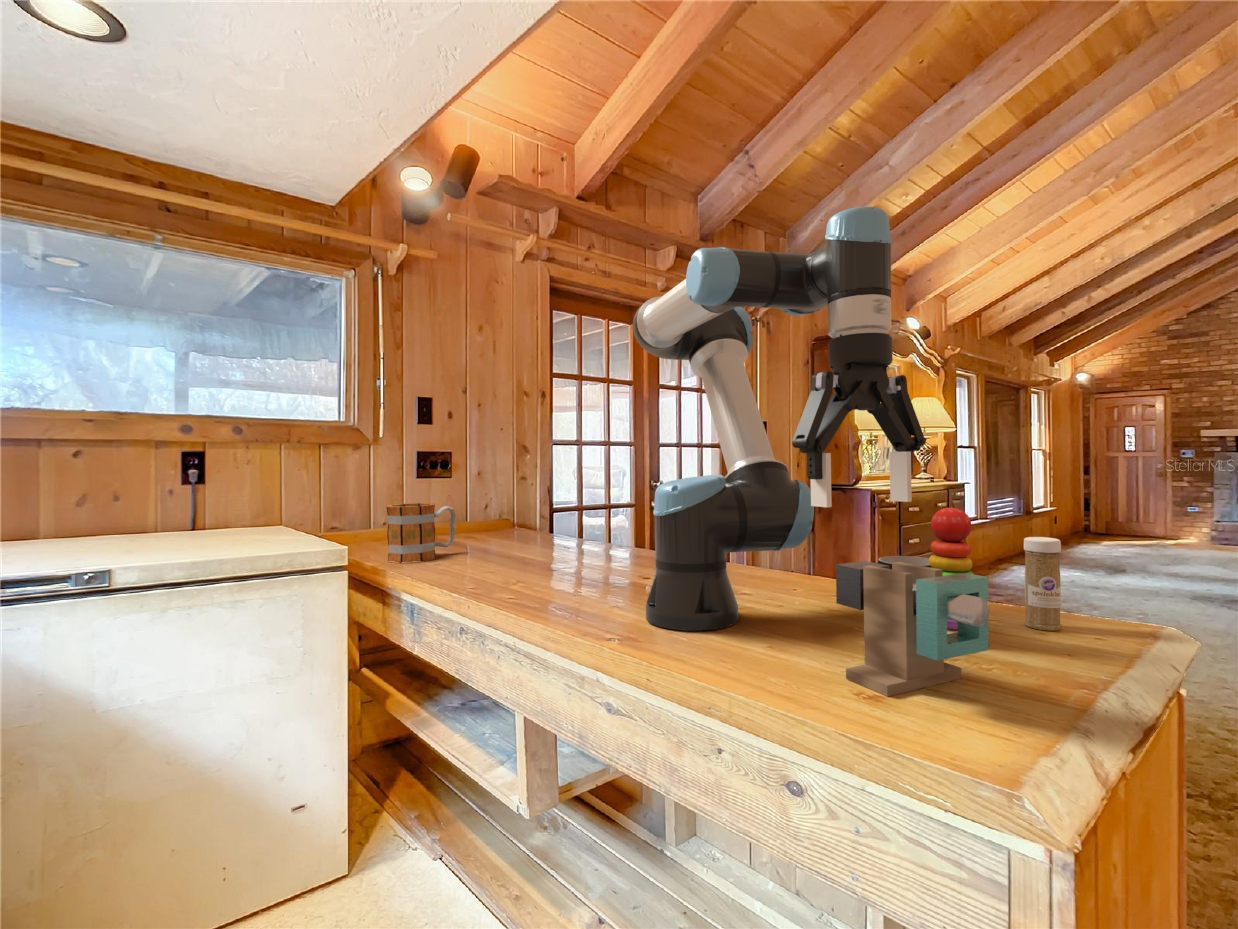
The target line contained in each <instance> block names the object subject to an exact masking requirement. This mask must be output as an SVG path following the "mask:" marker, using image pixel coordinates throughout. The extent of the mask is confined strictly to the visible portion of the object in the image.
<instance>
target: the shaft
mask: <svg viewBox="0 0 1238 929" xmlns="http://www.w3.org/2000/svg"><path fill="white" fill-rule="evenodd" d="M869 565H871V566H876V567H882V568H887V569H890V566H888V565H883V564H878V562H871V561H866V560H864V561H863V560H862V561H855V562H845V563H839V564H835V588H836V589H835V590H836V594H835V596H836V597H835V598H836V602H835V603H836V604H837V605H841V606H844V607H848V608H852V609H855V610H858V611H864V584H863V566H869ZM913 610H915V611H916V584H914V583H913ZM989 615H990V606H989V602H988V603H987V601H986V600H985V599H983V598H980V597H975V596H970V595H966V594H963V595H956V596H949V597H947V619H949V620H953V621H957V622H961V623H965V624H968V625H972V626H976V627H981V626H983V625H984V624H985V623H986V621H987V619H988V620H989Z"/></svg>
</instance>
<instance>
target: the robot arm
mask: <svg viewBox="0 0 1238 929" xmlns="http://www.w3.org/2000/svg"><path fill="white" fill-rule="evenodd" d="M890 227H891V226H890V217H889V215H888V213H887V212H886V211H885V210H884V209H882V208H879V207H876V206H856V207H852V208H848V209H844V210H841V211H840V212H837V213H835V214H834V215H832V216H831V217H830V218H829V219H828V222H827V223H826V231H825V236H824V238H825V244H824V245H822V246H821V247H819V248H818V249H816V250H814V251H813V252H811V253H797V252H796V253H794V252H779V251H764V250H754V249H753V250H752V249H751V250H750V249H740V248H729V247H723V246H717V247H701V248H698V249H697V250H695V251H694V253H692V255H691V258H690V261H689V262H688V265H687V269H686V277H685V278H684V280H682V281H681V282H679V283H678V284H677V285H676V286H674V287H673V288H671V289H670V290H668V291H667V292H666V293H665V294H663V295H662V296H655V297H652V298H650V299H648V300H646V301H645V302H644V303H643V304H642V305H641V306H639V308H638V309H637V310H636V312H635V314H634V317H633V320H632V331H633V335H634V338H635V340H636V342H637V343H638V345H640V347H641V349H643V350H644V351H645V352H647V353H649V354H650V355H653V356H654V357H656V358H660V359H665V360H674V361H675V360H676V361H677V360H679V361H688V362H689V365H690V369H691V371H692V373H693V374H694V375H696V376H697V377H698V378H701V381H702V384H703V389H704V392H705V395H706V399H707V402H708V406H709V409H710V413H711V417H712V421H713V425H714V427H715V431H716V434H717V439H718V442H719V446H720V449H721V453H722V456H723V460H724V463H725V467H726V472H727V474H726V475H725V476H724V475H722V474H708V475H701V476H691V477H690V476H689V477H685V478H679V479H674V480H669V481H666V482H662V483H661V484H659V485H658V486H657V487H656V490H655V492H654V504H653V506H654V507H653V510H652V511H653V515H654V541H655V542H654V547H655V548H654V551H655V553H654V554H655V572H654V576H653V580H652V584H651V588H650V590H649V594H648V597H647V600H646V603H645V618H646V621H647V622H648V623H650V624H651V625H654V626H656V627H661V628H664V629H668V630H669V629H670V630H677V631H694V632H695V631H698V632H699V631H711V630H712V631H713V630H718V629H724V628H727V627H731V626H733V625H735V624H736V623H737V622H739V605H738V602H737V599H736V596H735V593H734V590H733V587H732V584H731V581H730V578H729V575H728V570H727V554H728V553H744V552H745V553H746V552H747V553H748V552H763V551H774V552H778V551H781V550H787V549H793V548H794V549H795V548H797V547H799V546H801V545H802V544H803V543H804V542H805V541H806V539H807V538H808V536H809V534H810V532H811V529H812V525H813V522H814V516H815V507H817V508H818V507H820V508H832V507H833V505H832V503H833V502H832V500H833V499H832V457H831V456H832V452H827V453H826V452H825V451H826V449H827V448H828V446H829V444H830V443H831V441H832V440H833V438H834V436H835V434H836V433H837V431H838V430H839V428H840V427H841V425H842V423H843V422H844V420H845V419H846V417H847V416H848V414H849V413H850V412H851V411H854V410H855V411H856V410H858V411H867V413H869V414H871V415H872V416H873V418H874V419H875V420H876V422H877V424H878V425H879V427H880V428H881V430H882V432H883V433H884V435H885V436H886V439H888V442H890V444H891V446H892V447H893V449H894V450H895V451H889V491H890V493H889V494H890V497H889V498H890V499H889V500H890V502H902V503H903V502H904V503H905V502H906V503H908V502H909V503H911V502H912V500H913V498H912V492H913V490H912V476H913V473H914V452H918V451H921V448H922V446H923V447H924V446H925V445H926V439H925V438H926V437H925V435H924V433H923V430H922V427H921V424H920V421H919V419H918V416H917V413H916V410H915V408H914V406H913V403H912V400H911V398H910V394H909V391H908V381H907V377H906V375H904V374H900V375H895V376H894V375H893V376H889V375H888V372H887V369H888V367H889V366H890V365H892V363H893V358H894V357H893V337H892V336H891V335H890V334H889V332H890V331H891V330H892V299H891V298H892V244H893V240H892V238H891V229H890ZM826 307H827V331H828V332H827V335H828V336H829V337H830V338H831V339H830V340H829V341H828V345H827V346H828V350H827V351H828V367H829V368H830V369H831V370H833V372H832V371H831V370H827V371H823V372H817V373H814V374H812V376H811V388H810V393H809V395H808V398H807V401H806V404H805V406H804V409H803V411H802V415H801V417H800V419H799V422H798V425H797V428H796V430H795V433H794V435H793V438H792V441H791V445H792V447H793V448H795V449H799V452H800V453H802V454H806V477H807V480H810V486H808V484H807V483H805V482H804V481H802V480H799V479H793V480H792V478H791V475H790V473H789V469H788V466H787V465H786V464H785V463H784V462H783V461H780V460H779V459H776V458H775V456H774V452H773V449H772V447H771V443H770V440H769V436H768V433H767V431H766V428H765V424H764V421H763V418H762V416H761V413H760V409H759V407H758V404H757V401H756V397H755V395H754V392H753V389H752V388H753V387H752V386H751V382H750V379H749V376H748V373H747V370H746V366H745V363H746V361H747V359H748V355H749V354H750V353H751V349H752V347H753V343H754V342H753V341H754V336H753V334H752V332H753V331H754V329H753V324H752V320H751V318H750V314H748V313H747V311H746V310H745V309H744V308H765V309H780V311H783V312H784V314H788V315H789V316H793V317H803V316H805V315H811V314H814V313H816V312H819V311H820V310H822V309H824V308H826ZM833 391H834V394H833ZM832 394H833V395H832ZM831 397H832V398H831Z"/></svg>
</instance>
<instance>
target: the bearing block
mask: <svg viewBox="0 0 1238 929" xmlns="http://www.w3.org/2000/svg"><path fill="white" fill-rule="evenodd" d="M940 576H943V572H942V569H936V568H931V567H925V566H920V565H914V564H909V563H903V562H894V563H892V569H887V568H882V567H876V566H871V565H869V566H863V584H864V610H863V626H864V627H863V631H864V633H863V634H864V639H863V640H864V642H863V643H864V645H863V646H864V664H861V665H857V666H851V667H848V668H845V679H846V680H849V681H851V682H853V683H855V684H857V685H860V686H863V687H864V688H867V689H869V690H871V691H874V692H876V693H878V694H881V695H883V696H885V697H892V696H894V695H900V694H903V693H904V694H905V693H908V692H911V691H914V690H920V689H923V688H927V687H931V686H936V685H939V684H943V683H947V682H948V683H949V682H952V681H955V680H959V679H962V678H963V676H962V672H963V671H962V669H963V668H962V667H960V666H957V665H954V664H950V663H948V662H946V661H945V659H944V660H939V661H937V660H934V659H931V658H928V657H925V656H922V655H919V654H917V631H916V611H915V610H913V583H914V584H916V579H924V578H932V577H940Z"/></svg>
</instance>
